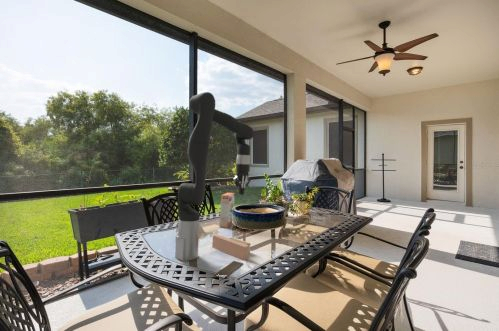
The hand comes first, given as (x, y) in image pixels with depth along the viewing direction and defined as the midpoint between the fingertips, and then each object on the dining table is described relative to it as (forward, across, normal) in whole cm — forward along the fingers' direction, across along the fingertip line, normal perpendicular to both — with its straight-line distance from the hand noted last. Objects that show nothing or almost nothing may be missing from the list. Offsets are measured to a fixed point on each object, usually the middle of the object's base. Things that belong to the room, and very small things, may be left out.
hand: (241, 194), depth 153 cm
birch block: (+25, +13, +12) cm, 31 cm away
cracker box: (+26, -14, -27) cm, 40 cm away
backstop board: (+25, +18, +12) cm, 33 cm away
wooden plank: (+26, +31, +26) cm, 48 cm away
